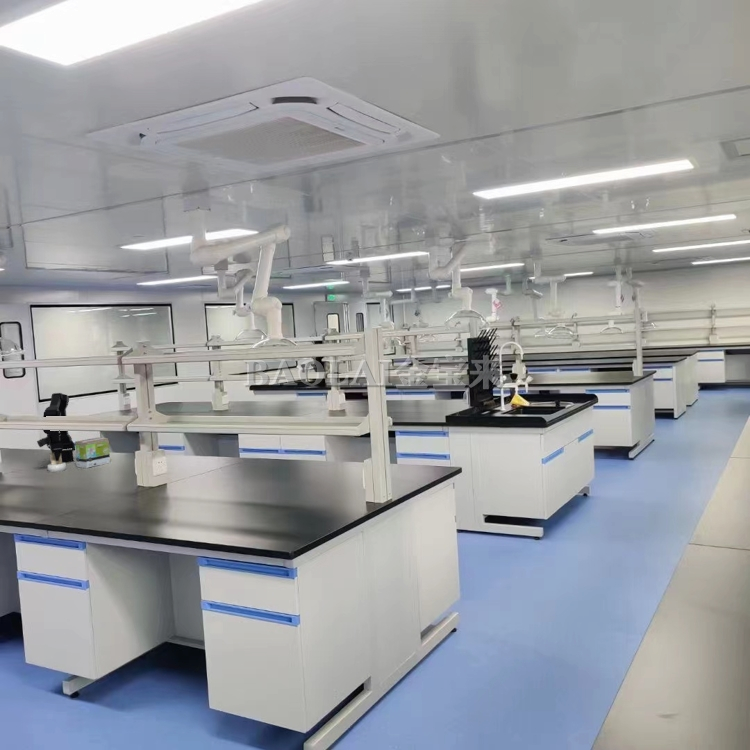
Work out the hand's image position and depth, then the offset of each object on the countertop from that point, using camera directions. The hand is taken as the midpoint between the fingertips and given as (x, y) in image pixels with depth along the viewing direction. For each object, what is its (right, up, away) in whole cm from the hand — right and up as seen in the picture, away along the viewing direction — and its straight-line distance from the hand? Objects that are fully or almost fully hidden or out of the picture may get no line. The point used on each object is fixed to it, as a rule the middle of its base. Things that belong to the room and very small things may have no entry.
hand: (56, 459), depth 367 cm
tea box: (+16, -5, +11) cm, 20 cm away
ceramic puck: (0, -6, 0) cm, 6 cm away
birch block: (0, -2, 0) cm, 2 cm away
